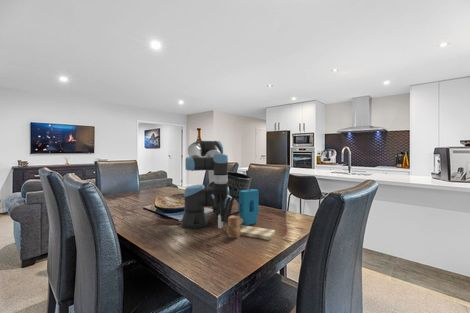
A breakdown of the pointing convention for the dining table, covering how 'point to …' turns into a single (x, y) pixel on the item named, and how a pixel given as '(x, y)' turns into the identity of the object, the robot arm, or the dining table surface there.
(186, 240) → the dining table surface
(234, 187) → the planter
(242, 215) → the block
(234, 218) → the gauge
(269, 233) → the board
